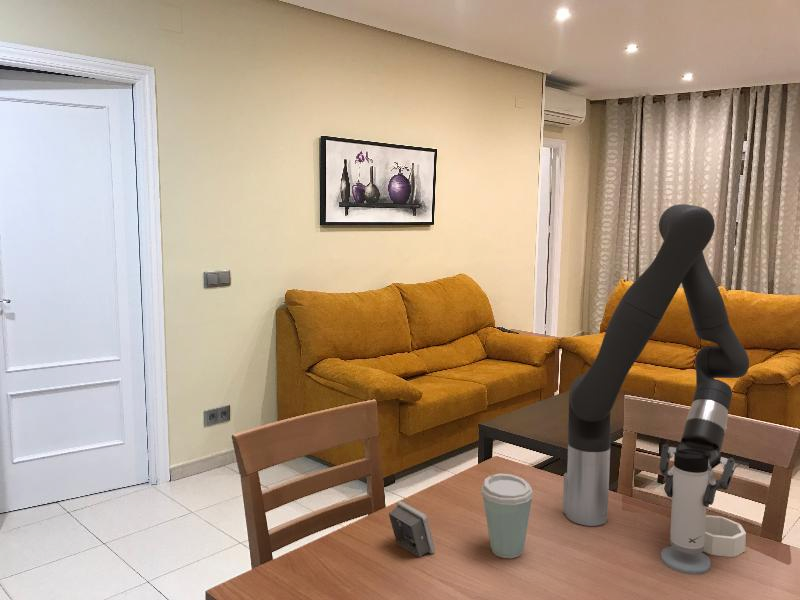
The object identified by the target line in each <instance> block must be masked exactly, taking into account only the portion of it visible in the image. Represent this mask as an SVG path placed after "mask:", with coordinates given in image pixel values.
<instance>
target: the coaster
mask: <svg viewBox="0 0 800 600" xmlns="http://www.w3.org/2000/svg"><path fill="white" fill-rule="evenodd" d="M660 556H661V557H660V558H661V562H662V563H663V564H664V565H665V566H666V567H668V568H669V569H672V570H674V571H676V572H680V573H683V574H689V575H701V574H705V573H707V572H709V571H710V569H711V560H710V557H708V556H707V554H705V553H703V551H702V552H701V553H697V554H688V553H684V552H680V551H678V550H676V549H675V548H673V547H672V546H671V545H670V546H666V547H664V548H663V549H662V550H661V552H660Z"/></svg>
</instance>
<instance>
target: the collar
mask: <svg viewBox="0 0 800 600" xmlns="http://www.w3.org/2000/svg"><path fill="white" fill-rule="evenodd" d="M746 540H747V532H746V531H745V529H744V528H743V525H741V523H739V522H737V521H734V520H731V519H730V518H726V517H725V516H720V515H709V514H706V522H705V541H704V550H703V551H702V552H704V553H707V554H708V555H710V556H718V557H727V558H735V557H737V556H739V555H741V554H744V553H745V552H746V543H747V541H746ZM743 552H744V553H743Z"/></svg>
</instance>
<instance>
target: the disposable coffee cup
mask: <svg viewBox="0 0 800 600" xmlns="http://www.w3.org/2000/svg"><path fill="white" fill-rule="evenodd" d="M532 487H533V486H531V485H530V483H529V482H527V481H526V480H525V479H524V478H522V477H520V476H517V475H514V474H510V473H495V474H491V475H488V477H486V478H485V479H484V480H483V483H482V485H481V489H480V490H481V491H480V495H481V496H482V500H483V505H484V510H485V518H486V525H487V531H488V537H489V542H490V543H489V544H490V545H489V546H490V549H491V551H492V553H493V554H494V555H495V556H497V557H500V558H502V559H515V558H519V557H520V556H521V555H522V554H523V551H524V549H525V545H526V544H525V543H526V536H527V530H528V525H529V524H528V523H529V518H530V512H531V506H532V501H533V500H532V499H533V498H534V494H533V488H532Z"/></svg>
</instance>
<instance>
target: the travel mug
mask: <svg viewBox="0 0 800 600" xmlns="http://www.w3.org/2000/svg"><path fill="white" fill-rule="evenodd" d="M710 458H711V453H708V452H706V451H703V450H698V449H682V450H678V452H676V453H675V454H674V455H673V460H674V461H673V466H674V468H673V489H672V498H671V511H670V512H671V513H670V514H671V516H670V533H669V535H670V537H669V538H670V539H669V543H670V546H672V547H673V548H675V549H676V550H678V551H680V552H684V553H688V554H697V553H701V552H702V553H703V552H704V551H703V550H704V541H705V522H706V515H707V507H706V506H704V504H703V500H704V496H705V492H706V488H707V485H709V481H708V459H710Z"/></svg>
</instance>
